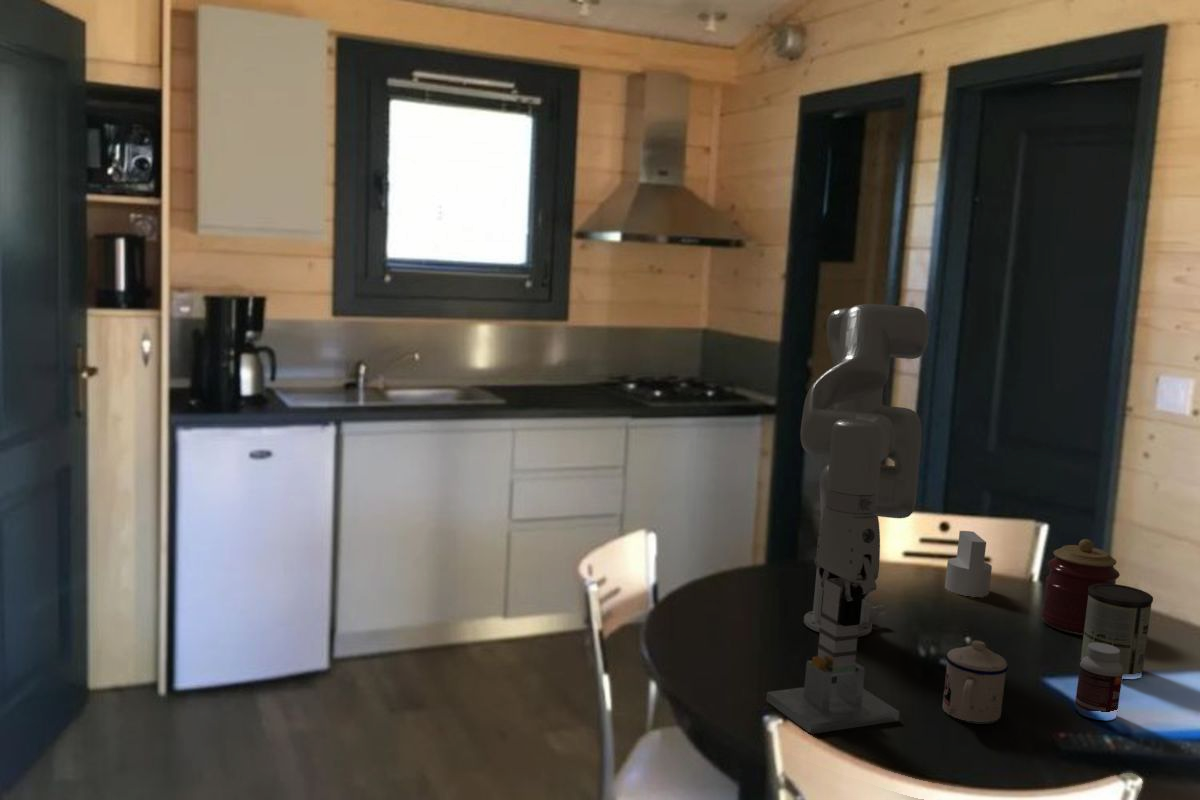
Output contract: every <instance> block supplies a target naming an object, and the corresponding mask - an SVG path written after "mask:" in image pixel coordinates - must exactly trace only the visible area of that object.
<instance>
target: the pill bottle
mask: <svg viewBox="0 0 1200 800" xmlns="http://www.w3.org/2000/svg"><path fill="white" fill-rule="evenodd" d="M1087 654H1088V656H1086V657H1084V658H1083V659H1082V660H1081V659H1080V660H1081V662H1080V661H1079V671H1078V677H1077V678H1078V679H1077V686H1076V695H1075V702H1074V705H1075V704H1076V705H1077V706H1078V707H1079V708H1080V709H1084V710H1086V711H1101V712H1110V711H1114V710H1117V709H1118V710H1119V704H1120V703H1119V702H1120V694H1121V688H1122V681H1123V680H1122V675H1123V668H1122V666H1121V665H1120V664H1119V663H1118V662H1117V661H1118V660H1119V658H1120V650H1119V649H1118V648H1116V647H1114V646H1112V645H1108V644H1104V643H1089V644H1088V647H1087Z"/></svg>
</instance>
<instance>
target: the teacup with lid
mask: <svg viewBox="0 0 1200 800" xmlns="http://www.w3.org/2000/svg"><path fill="white" fill-rule="evenodd" d="M986 646H987V645H986V643H985V642H984V641H981V640H973V641H972V642H971V645H967V646H963V647H962V646H961V647H955V648H952V649H950V650H949V651H948V652H947V654H946V656H945V659H946V661H947V662H946V670H945V680H944V688H943V699H942V710H943V711H944V713H945V712H946V713H947V714H946V715H948V714H949V715H951V716H953V717H955V718H958V719H961V720H966V721H974V722H989V721H994V720H997V719H999V718H1000V719H1001V717H1000V716H1002V708H1003V706H1002V705H1003V697H1004V689H1005V681H1006V673H1007V671H1008V669H1009V666H1008V662H1007V661H1006V659H1005V658H1004V657H1003V656H1001V655H1000V654H997V653H996V652H993V651H992V650H990V649H989V648H987V647H986ZM949 715H948V716H949Z"/></svg>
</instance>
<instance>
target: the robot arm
mask: <svg viewBox="0 0 1200 800" xmlns="http://www.w3.org/2000/svg"><path fill="white" fill-rule="evenodd" d="M826 338H827V345H828V348H829V349H828V350H829V352H830V353H829V354H830V357H831V359H832V363H833V367H831V368H830V369H828V370H827V371H826V372H824V373H823V374H822V375H820V376H819V377H818V378H817V379H816V380H815V381H814V382H813V384H812V385H811V386H810V388H809V389H808V392H807V394H806V395H805V400H804V404H803V409H802V410H803V411H802V415H801V417H802V418H801V424H800V435H799V436H800V443H801V446H802V449H803V450H804V452H806V453H808V454H809V455H810V456H815V457H821V458H823V457H824V458H828V459H829V460H828V464H827V465H826V466H825V467H824V468H823V469H822V470H821V473H820V475H819V497H820V500H819V501H820V525H819V531H818V537H817V544H816V545H817V547H816V556H815V558H814V561H813V562H814V564H815V566H816V572H815V573H816V575H815V585H814V594H813V595H814V598H813V605H812V606H813V607H812V611H811V610H810V611H809V612H806V613H805V614H804V616H803V623H804V625H805V626H806V627H807V628H808V629H810V630H812V631H814V632H817V633H819V634H820V632H819V628H820V626H821V612H822V604H823V593H824V582H825V579H831V578H843V579H845V597H846V599H844V600H842V609H841V620H840V621H841V622H840V624H841V625H842V626H852V625H859V627H858V635H859V637H858V638H860V637H864V636H867V635H869V634H871V632H872V629H873V624H872V622H871V621H870V619H872V618H873V616H874V617H879V616H885V615H886V613H887V608H886V607H885V605H883V604H880V605H878V604H877V605H872V604H871V603H870V602H867V595H868V594H869V593H871V592H873V591H875V590H877V583H876V581H877V579H878V577H879V574H880V573H879V571H880V560H881V535H880V534H881V530H880V521H879V520H880V519H879V517H881V518H890V519H906V518H908V517H910V516H911V515H913V513H914V510H915V508H916V504H917V496H918V486H919V485H918V484H919V473H920V472H919V471H920V461H921V458H920V457H921V449H922V424H921V419H920V417H919V415H918V413H917V412H915V410H913V409H910V408H908V407H902V406H901V407H900V406H890V405H884V404H883V393H884V386H885V385H886V383H887V381H888V380H889V376H890V358H896V359H904V360H905V359H908V360H913V359H919V358H921V356H923V354H924V353H925V351H926V349H927V347H928V343H929V338H930V326H929V320H928V316H927V315H926V313H925V312H924V311H923V310H922V309H921V308H919V307H914V306H904V305H894V304H893V305H892V304H891V305H890V304H881V303H880V304H878V303H863V304H856V305H854V306H852V307H843V308H838V309H835V310H833V311H832V312H831V313H830V314H829V315H828V317H827V321H826ZM833 405H834V406H833ZM830 406H833V407H834V409H833V408H832V409H831V408H829V407H830ZM885 459H889V460H890V461H891V460H892V462H893V464H894V465H889V464H887V465H886V464H882V462H883V460H884V461H885ZM853 584H857V587H856V588H855V589H854V590H853Z"/></svg>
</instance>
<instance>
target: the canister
mask: <svg viewBox="0 0 1200 800" xmlns="http://www.w3.org/2000/svg"><path fill="white" fill-rule="evenodd" d="M1053 555H1054V556H1055V557H1054V558H1052V559H1049V560H1048V562H1047V567H1048V568H1049V572H1048V576H1047V577H1046V578H1045V589H1044V590H1045V591H1044V597H1043V598H1044V599H1043V605H1042V607H1041V616H1042V619H1043V621H1044V622H1046V623H1047V624H1049V625H1052V626H1054V627H1057V628H1060V629H1063V630H1068V631H1072V632H1078V633H1084V627H1085V618H1086V609H1087V601H1088V593H1089V592H1088V587H1089V586H1090V585H1093V584H1102V583H1105V584H1117V583H1116V582H1117V579H1118V578H1119V577H1120V576H1121V575H1120V572H1119V571H1118V570H1117V569H1116V568H1115V565H1116V564H1117V560H1116V559H1115V558H1114V557H1113V556H1111V555H1110V553H1108V552H1107V551H1105V550H1103V549H1099V548H1096V547H1094V543H1093V542H1092V540H1091V539H1087V538H1083V539H1081V540H1080V541H1079V543H1078V545H1077V544H1067V545H1063V546H1062V547H1061V548H1060V547H1059V548H1057V549H1055V550H1053ZM1042 619H1041V620H1042ZM1043 621H1042V622H1043ZM1044 622H1043V623H1044Z"/></svg>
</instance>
